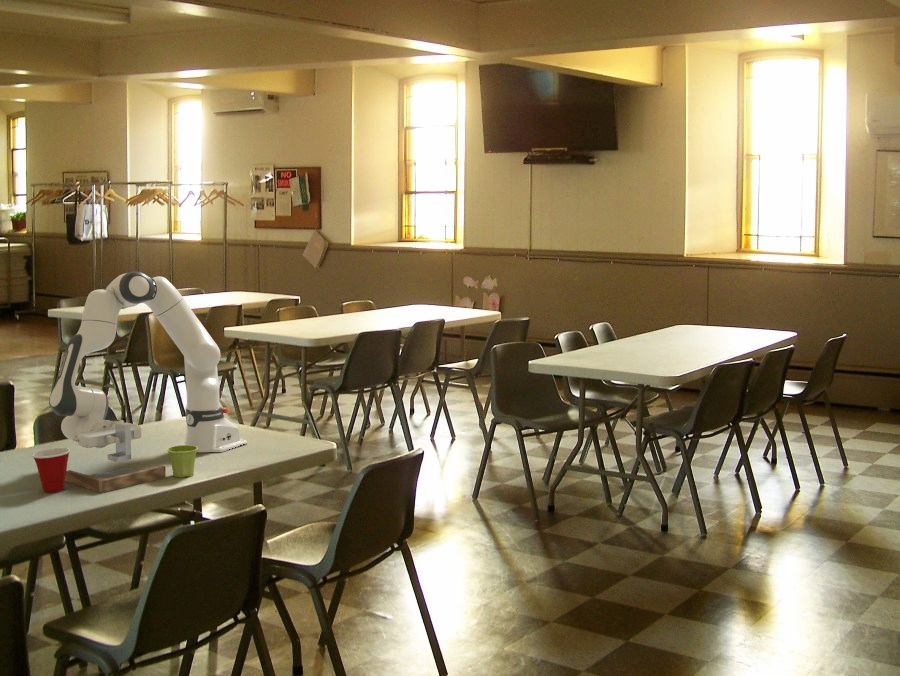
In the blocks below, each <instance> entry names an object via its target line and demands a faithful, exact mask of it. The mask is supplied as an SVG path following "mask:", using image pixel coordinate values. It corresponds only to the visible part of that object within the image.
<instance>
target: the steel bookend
mask: <svg viewBox="0 0 900 676" xmlns="http://www.w3.org/2000/svg"><path fill="white" fill-rule="evenodd" d="M128 423H129V422H124V423H123V422H117V423H115V437H121V438H122V443H119V444H116V443H115V452H114V453H109V454H107V460H108V461H112V462H116V463H119V462H120V463H121V462H124V461H128V460H129V461H130V460H132V445H131V444H132V440H131V427H130V424H128Z"/></svg>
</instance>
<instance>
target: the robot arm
mask: <svg viewBox="0 0 900 676" xmlns="http://www.w3.org/2000/svg"><path fill="white" fill-rule="evenodd" d="M139 304H145V305H146V306H147V307H148V308H149V309H150V310H151V312H152V313H153V314H154V316H155V317H156V319H157V321H159V324H160V325H161V326H162V327H163V329H164V330H165V332H166V333H167V335H168V336H169V337H170V339H171V340H172V341H173V343H174V345H176V347H177V348H178V350H179V351H180V352H181V354H182V355H183V358H184V360H183V361H184V373H185V374H184V375H185V383H186V385H185V387H186V408H185V420H186V433H185V439H184V440H185V441H184V444H183V445H193V446H197V447H198V450H197V452H196V453H223V452H226V451H230V450H232V448H233V449H235V447H236V448H239V447H241V446H240V445H242V446H244V445H243V444H245V445H247V444H248V442H247V440H246V439H244V438H241V434H240V430H239V427H238V426H237V425H236V424H234V423H233V422H231V420H229V419H228V418H226V417H225V415H224V414H226V415H227V414H229V413H230V410H231V409H230V408H229V407H223V408H222V407H221V406H220V405H221V403H220V382H219V375H218V374H219V373H218V364H219V362H220V361H221V350H220V348H219V346H218V344H217V343H216V342H215V340H214V339H213V338H212V336H211V335H210V333H209V332H208V330H207V329H206V327H204V325H203V324H202V322H201V321H200V320H199V318H198V317H197V315H196V314H195V312H194V311H193V309H191V307H190V305H189V304H188V303H187V301H186V300H185V298H184V297H183V296H182V294H181V293H180V292H179V290H178V289H177V288H176V287H175V286H174V285H173V283H172V282H170V281H169V279H167V278H166V277H164V276H158V275H157V276H154V277H150V276H148V275H146V274H145V273H143V272H140V271H137V270H136V271H129V272H126V273H123V274H119V275H118V276H117V277H114V278H113V279H111V280H110V281H109V282H108V284H107V285H106V286H105V288H103V289H95V290H92V291H90V293H88V296H87V297H86V301H85V304H84V306H83V307H84V308H83V311H82V316H81V322H80V326H79V329H78V331H77V333H76V334H74V335H72V336H71V337H70V339H69V341H68V343H67V346H66V348H65V351H64V353H63V354H64V355H63V358H62V361H61V363H60V364H61V365H60V368H59V371H58V374H57V377H56V380H55V384H54V386H53V387H52V390H51V392H50V394H49V397H48V400H49V406H50V408H51V410H52V411H53V412H54V414H55V415H57V416H59V417H64V418H63V419H62V420H61V425H60V427H61V428H60V429H61V432H62V434H63V435H64V436H65V437H66V439H68V440H69V441H72V442H75V443H77V446H81V447H82V448H86V449H91V448H98V449H101V448H105V447H106V446H109V445H112V444H115V445H116V444H119V443H122V438H121V437H115V423H117V422H123V423H125V420H123V419H106V417H107V415H108V410H109V400H108V396H107V395H106V394H107V393H105V392H104V390H102V389H101V388H93V387H85V386H79V385H76V384H75V382H76V381H75V380H76V378H77V375H78V371H79V368H80V363H81V361H82V359H83V358H84V357H85V356H86V355H87V354H91V353H94V352H98V351H102V350H105V349H106V348H108V347H109V346H111V345H112V343H113V342H114V341H115V337H116V334H117V327H118V318H119V317H118V316H119V314H120V312H121V310H124V309H125V310H126V309H127V308H133V307H135V306H138V305H139ZM127 423H128V424H130V427H131V441H133V440H138V439H142V435H143V434H142V433H143V432H142V427H141V426H140V425H137V424H134V423H130V422H127ZM246 443H247V444H246ZM238 446H239V447H238ZM229 449H230V450H229Z"/></svg>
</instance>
